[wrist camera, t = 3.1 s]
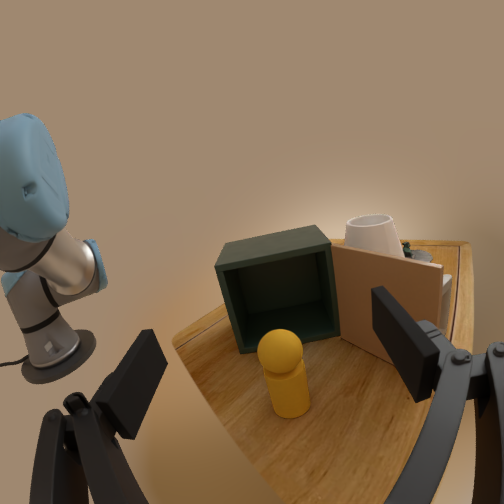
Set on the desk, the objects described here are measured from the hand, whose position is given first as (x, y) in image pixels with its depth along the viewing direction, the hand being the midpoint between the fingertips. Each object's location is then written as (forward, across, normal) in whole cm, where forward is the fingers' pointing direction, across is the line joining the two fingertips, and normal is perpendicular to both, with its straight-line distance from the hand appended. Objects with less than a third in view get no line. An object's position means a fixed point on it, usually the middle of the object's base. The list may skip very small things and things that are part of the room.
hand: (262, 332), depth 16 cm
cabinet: (+28, +1, -17) cm, 33 cm away
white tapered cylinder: (+34, +19, -18) cm, 43 cm away
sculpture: (+45, +32, -18) cm, 58 cm away
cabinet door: (+16, +15, -17) cm, 28 cm away
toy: (+10, 0, -17) cm, 20 cm away
